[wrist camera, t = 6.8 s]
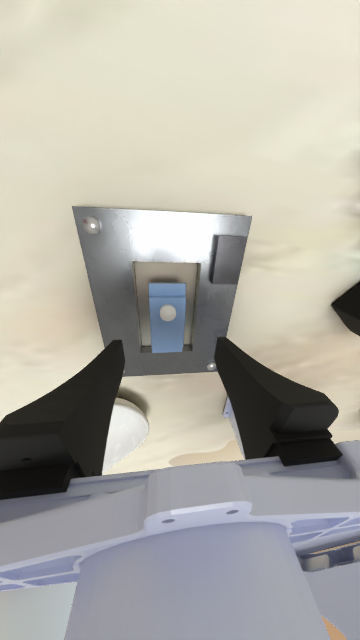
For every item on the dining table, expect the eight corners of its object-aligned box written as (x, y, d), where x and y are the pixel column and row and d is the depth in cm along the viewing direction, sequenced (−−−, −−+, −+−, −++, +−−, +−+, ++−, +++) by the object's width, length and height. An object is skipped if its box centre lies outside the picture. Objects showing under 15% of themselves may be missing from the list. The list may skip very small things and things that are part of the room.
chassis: (215, 365, 24) (220, 377, 22) (113, 370, 22) (109, 383, 20) (245, 216, 15) (258, 215, 13) (78, 207, 13) (65, 205, 11)
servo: (179, 336, 21) (183, 359, 17) (153, 337, 21) (152, 360, 17) (182, 275, 17) (188, 288, 14) (150, 274, 17) (147, 288, 13)
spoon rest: (94, 372, 23) (69, 428, 16) (164, 400, 27) (165, 452, 21) (32, 450, 30) (0, 509, 24) (95, 462, 35) (81, 513, 29)
